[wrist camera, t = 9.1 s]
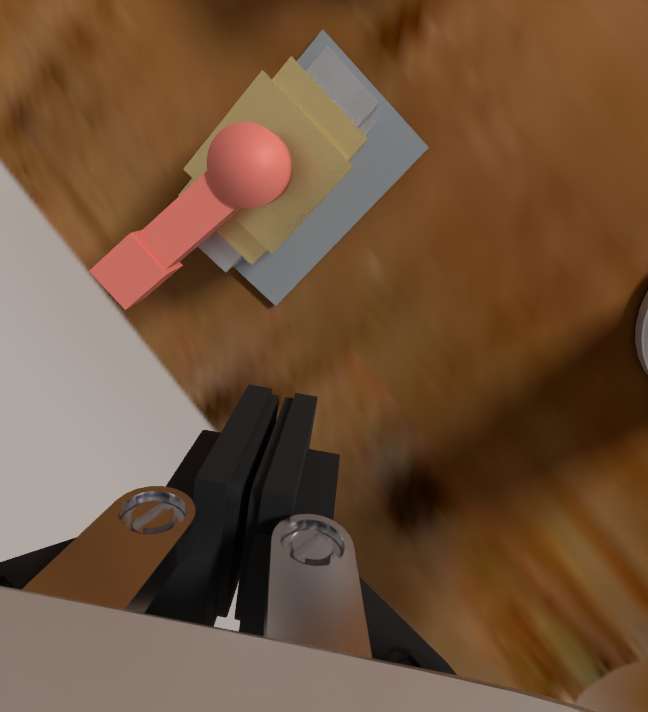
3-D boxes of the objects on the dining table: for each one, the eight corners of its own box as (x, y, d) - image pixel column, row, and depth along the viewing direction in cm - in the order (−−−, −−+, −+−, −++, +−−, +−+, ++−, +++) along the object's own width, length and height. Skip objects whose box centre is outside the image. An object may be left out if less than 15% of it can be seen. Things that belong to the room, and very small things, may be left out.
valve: (316, 50, 29) (300, -6, 20) (388, 129, 30) (404, 110, 21) (189, 205, 32) (125, 218, 23) (258, 270, 33) (222, 306, 24)
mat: (323, 32, 29) (322, 29, 28) (427, 148, 31) (428, 147, 30) (176, 210, 33) (173, 211, 32) (276, 303, 35) (275, 306, 34)
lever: (307, 173, 22) (303, 173, 20) (151, 306, 24) (133, 318, 22) (260, 109, 21) (250, 102, 19) (104, 254, 23) (80, 261, 21)
